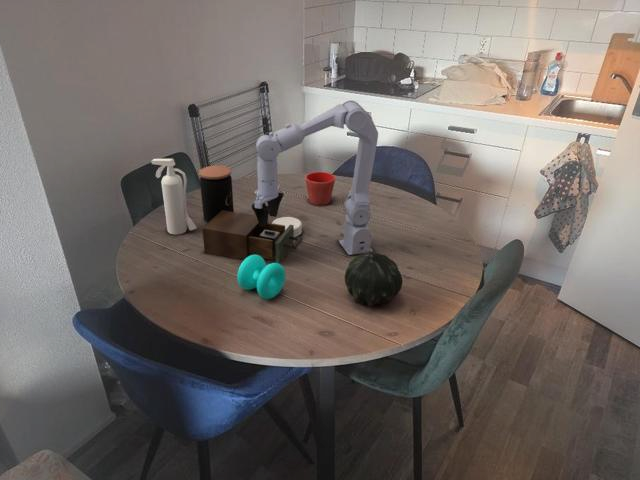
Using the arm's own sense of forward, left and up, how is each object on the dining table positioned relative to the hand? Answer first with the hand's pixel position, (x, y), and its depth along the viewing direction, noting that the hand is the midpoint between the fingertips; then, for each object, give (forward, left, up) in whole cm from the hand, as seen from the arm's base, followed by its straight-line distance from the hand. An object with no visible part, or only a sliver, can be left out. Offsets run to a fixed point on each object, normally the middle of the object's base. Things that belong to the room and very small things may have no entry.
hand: (268, 221), depth 150 cm
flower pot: (+32, -27, -11) cm, 43 cm away
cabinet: (+6, +10, -10) cm, 15 cm away
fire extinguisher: (+21, +26, -11) cm, 35 cm away
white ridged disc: (+11, -9, -11) cm, 18 cm away
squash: (-32, -21, -11) cm, 39 cm away
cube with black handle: (-1, 0, -8) cm, 8 cm away
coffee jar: (+26, +12, -11) cm, 31 cm away
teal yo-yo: (-22, +7, -11) cm, 25 cm away
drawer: (-2, -1, -9) cm, 10 cm away
